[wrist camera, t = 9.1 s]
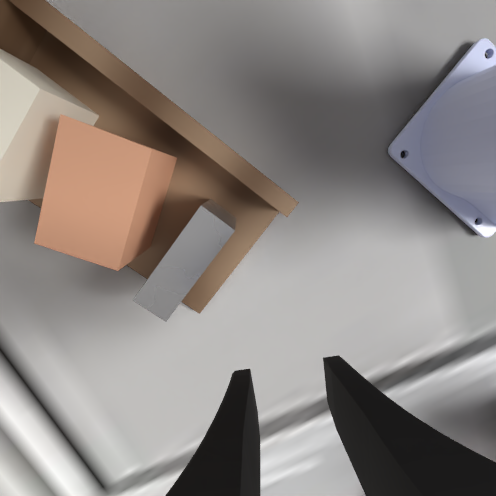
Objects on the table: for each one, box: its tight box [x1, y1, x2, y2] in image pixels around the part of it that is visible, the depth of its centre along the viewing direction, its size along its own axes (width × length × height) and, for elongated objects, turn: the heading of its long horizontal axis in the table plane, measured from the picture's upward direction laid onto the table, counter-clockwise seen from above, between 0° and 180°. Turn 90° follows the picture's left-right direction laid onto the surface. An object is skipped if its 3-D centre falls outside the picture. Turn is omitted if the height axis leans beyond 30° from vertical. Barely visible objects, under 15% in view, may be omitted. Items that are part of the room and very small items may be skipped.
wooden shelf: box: [0, 0, 299, 314], centre depth 15 cm, size 18×10×7 cm, turn 53°
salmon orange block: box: [34, 114, 177, 271], centre depth 15 cm, size 4×6×5 cm, turn 160°
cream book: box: [0, 49, 99, 202], centre depth 14 cm, size 4×6×5 cm, turn 143°
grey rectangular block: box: [133, 199, 236, 321], centre depth 16 cm, size 2×6×4 cm, turn 143°
